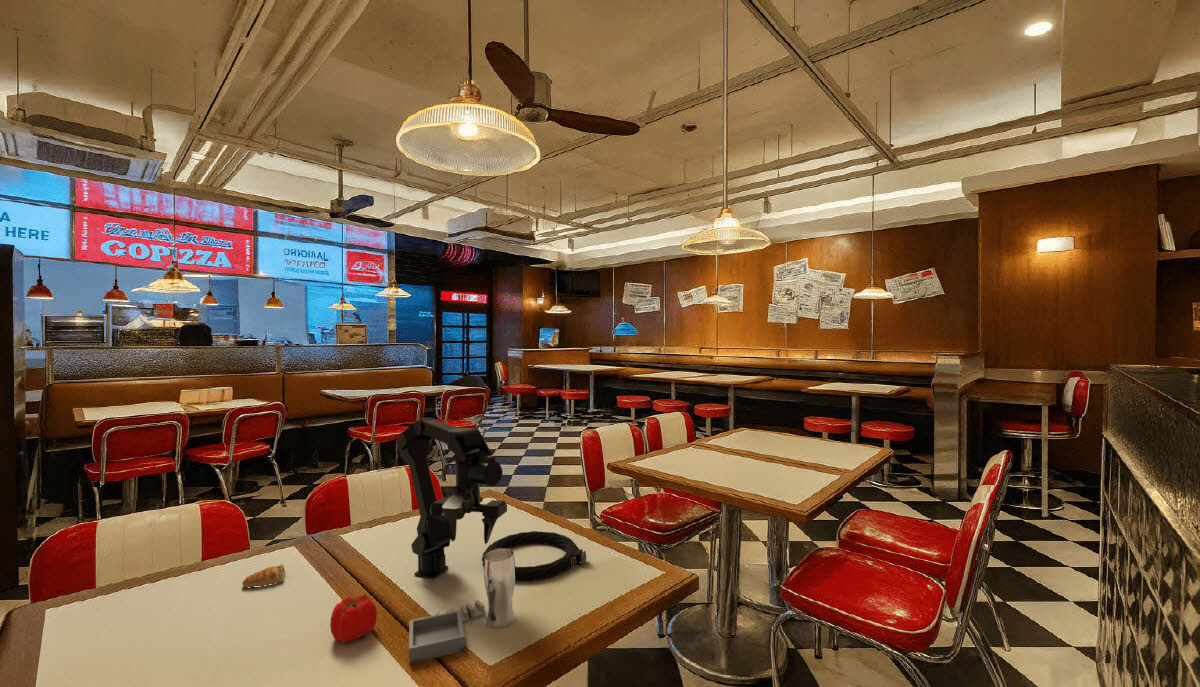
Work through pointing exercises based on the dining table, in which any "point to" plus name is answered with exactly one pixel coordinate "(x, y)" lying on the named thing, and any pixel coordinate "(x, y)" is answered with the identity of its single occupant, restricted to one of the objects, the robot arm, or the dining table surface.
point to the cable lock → (545, 570)
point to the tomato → (353, 618)
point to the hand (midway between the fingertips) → (469, 541)
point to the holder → (435, 636)
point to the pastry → (265, 577)
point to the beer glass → (500, 586)
